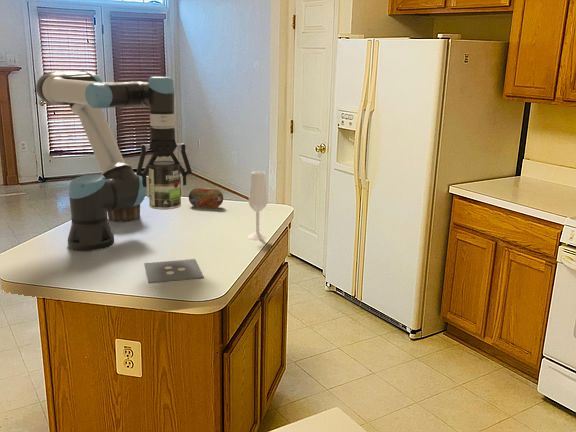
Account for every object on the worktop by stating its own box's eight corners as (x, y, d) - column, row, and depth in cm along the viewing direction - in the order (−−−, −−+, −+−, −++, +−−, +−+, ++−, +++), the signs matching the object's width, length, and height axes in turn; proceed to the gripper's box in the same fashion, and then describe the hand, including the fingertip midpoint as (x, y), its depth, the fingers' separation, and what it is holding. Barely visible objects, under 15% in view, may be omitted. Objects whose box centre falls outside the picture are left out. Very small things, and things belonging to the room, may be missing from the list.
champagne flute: (263, 240, 206) (264, 175, 199) (246, 238, 207) (246, 173, 201) (268, 235, 212) (269, 171, 205) (251, 233, 213) (251, 170, 207)
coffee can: (187, 205, 189) (186, 162, 185) (165, 211, 180) (164, 167, 177) (164, 200, 194) (163, 159, 190) (142, 206, 186) (140, 163, 182)
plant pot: (94, 221, 223) (91, 181, 219) (115, 211, 238) (113, 173, 234) (132, 225, 220) (130, 184, 215) (151, 214, 235) (150, 175, 231)
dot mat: (148, 283, 165) (148, 282, 165) (144, 264, 180) (144, 263, 180) (203, 278, 170) (203, 276, 170) (195, 259, 185) (195, 258, 185)
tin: (188, 206, 248) (188, 187, 246) (191, 204, 251) (190, 186, 249) (222, 209, 246) (222, 190, 244) (224, 207, 249) (224, 188, 247)
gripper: (125, 129, 173) (129, 200, 179) (200, 128, 180) (201, 196, 186) (124, 126, 180) (128, 194, 186) (196, 125, 187) (197, 191, 193)
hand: (164, 195), depth 186 cm, fingers closed on coffee can, 10 cm apart
